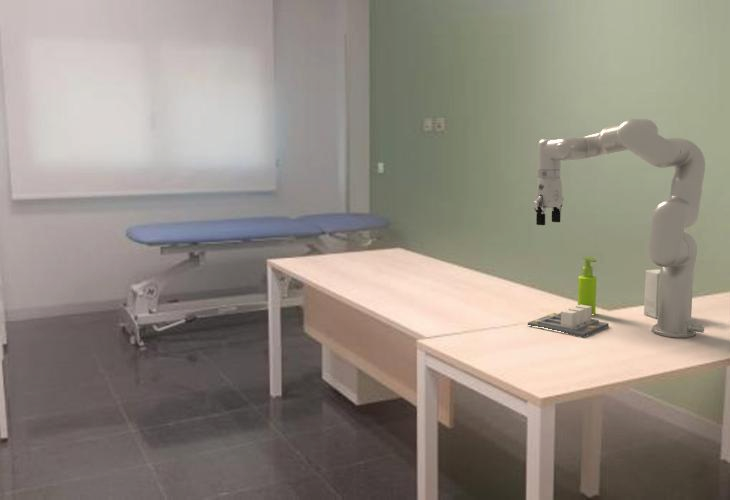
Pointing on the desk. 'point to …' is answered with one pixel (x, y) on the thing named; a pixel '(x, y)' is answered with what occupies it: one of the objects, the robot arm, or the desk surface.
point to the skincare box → (651, 293)
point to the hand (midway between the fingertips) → (548, 223)
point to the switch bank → (581, 330)
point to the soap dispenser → (587, 286)
